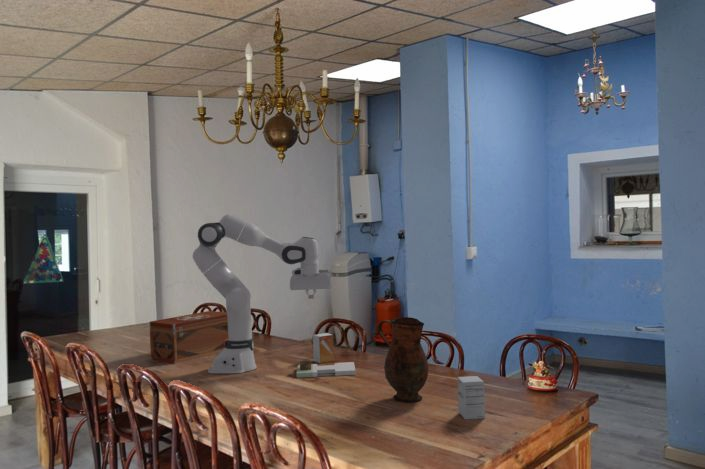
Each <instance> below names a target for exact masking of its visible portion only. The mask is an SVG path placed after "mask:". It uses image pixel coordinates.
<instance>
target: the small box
mask: <svg viewBox="0 0 705 469" xmlns="http://www.w3.org/2000/svg"><path fill="white" fill-rule="evenodd" d="M312 346H313V352H312V353H313V362H315V363H317V364H323V363H328V362H334V360H335V358H334V354H335V353H334V334H333V333H328V332H323V333H317V334H312Z"/></svg>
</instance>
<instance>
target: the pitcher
mask: <svg viewBox="0 0 705 469" xmlns="http://www.w3.org/2000/svg"><path fill="white" fill-rule="evenodd" d="M385 323H389V324H390V327H391V341H390V340H389V339H388V338H387V337H386V336H385V334H384V332H383V326H384V324H385ZM424 326H425V322H422V321H420V320H419V319H417V318H415V317H405V316H403V317H397V318H393V319H385V320H382V321H381V322H379V323H378V326H377V333H378V334H379V336H380V337H381V339H382V340H383V341H384V343H385V344H386V346H387V347H388V351H387V354H386V357H385V362H384V366H383V368H384V369H383V371H384V375H385V379H386V380H387V382H388V384H389V386H391V388H392V389H393V390H394V391H395V392H396V393H395V394H394V395H393V400H395V401H397V402H401V403H417V402H420V401H422V400H423V397H422V395H420V394H419V392H420V391H421V390H422V388H423V387H425V384H426V382H427V379H428V377H429V362H428V358H427V356H426V353H425V350H424V348H423V345H422V343H421V340H422V339H421V338H422V332H423V329H424Z"/></svg>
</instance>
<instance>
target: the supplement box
mask: <svg viewBox="0 0 705 469" xmlns="http://www.w3.org/2000/svg"><path fill="white" fill-rule="evenodd" d="M457 394H458V395H457V398H458V401H457V402H458V406H457V407H458V413H459V414H460V415H461V417H463V419H464V420H478V419H485V418H486V410H485V409H486V408H485V405H486V404H485V403H486V401H485V382H484V380H483V379H481V377H479V376H478V375H470V376H469V375H468V376H458V377H457Z"/></svg>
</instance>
